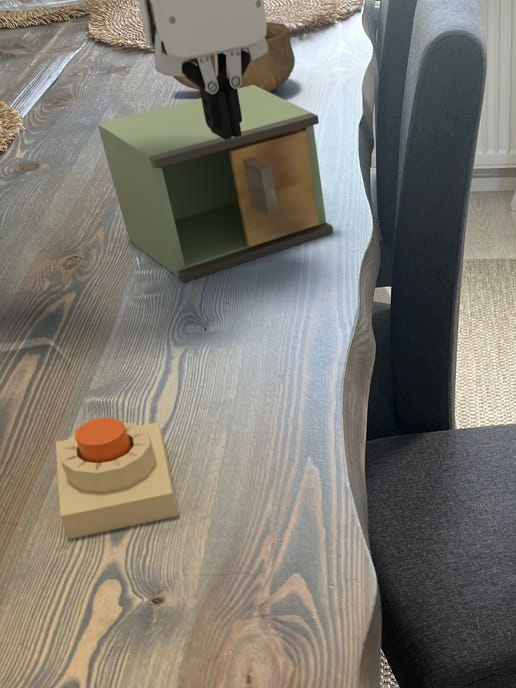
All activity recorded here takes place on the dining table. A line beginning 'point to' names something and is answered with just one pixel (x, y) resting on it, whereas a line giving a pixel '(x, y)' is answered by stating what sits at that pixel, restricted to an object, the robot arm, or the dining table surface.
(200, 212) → the cupboard
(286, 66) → the brown clay cup
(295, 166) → the cupboard door
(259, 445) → the dining table surface
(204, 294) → the dining table surface
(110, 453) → the light button
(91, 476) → the switch block
